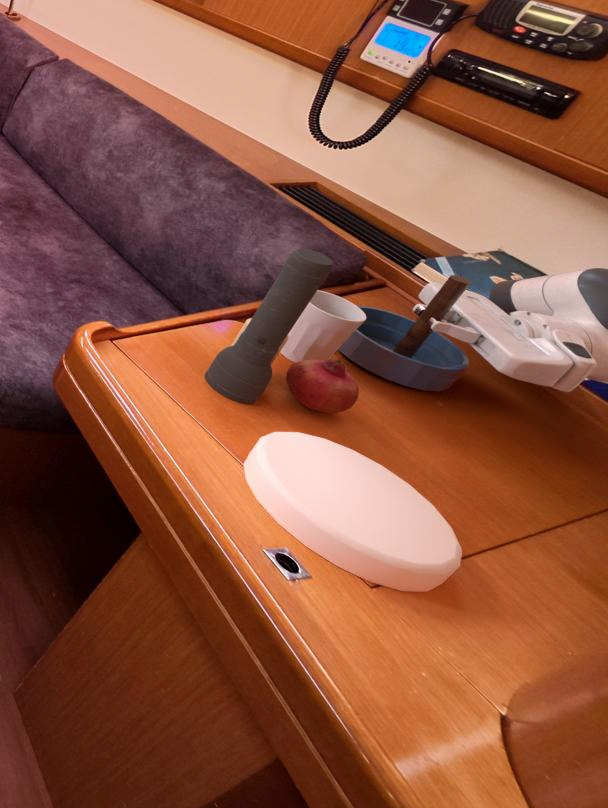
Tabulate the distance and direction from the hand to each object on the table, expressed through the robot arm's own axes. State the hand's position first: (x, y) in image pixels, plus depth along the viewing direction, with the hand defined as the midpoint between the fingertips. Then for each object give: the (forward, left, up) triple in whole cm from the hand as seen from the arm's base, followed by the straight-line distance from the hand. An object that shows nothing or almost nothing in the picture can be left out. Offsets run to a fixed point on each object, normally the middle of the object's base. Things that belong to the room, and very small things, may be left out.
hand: (423, 316), depth 105 cm
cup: (+12, +7, -12) cm, 18 cm away
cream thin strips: (+20, +17, -12) cm, 29 cm away
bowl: (0, -2, -12) cm, 12 cm away
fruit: (+12, +21, -12) cm, 27 cm away
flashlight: (+22, +25, -12) cm, 35 cm away
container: (+11, +44, -12) cm, 47 cm away
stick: (-1, 0, -10) cm, 10 cm away
